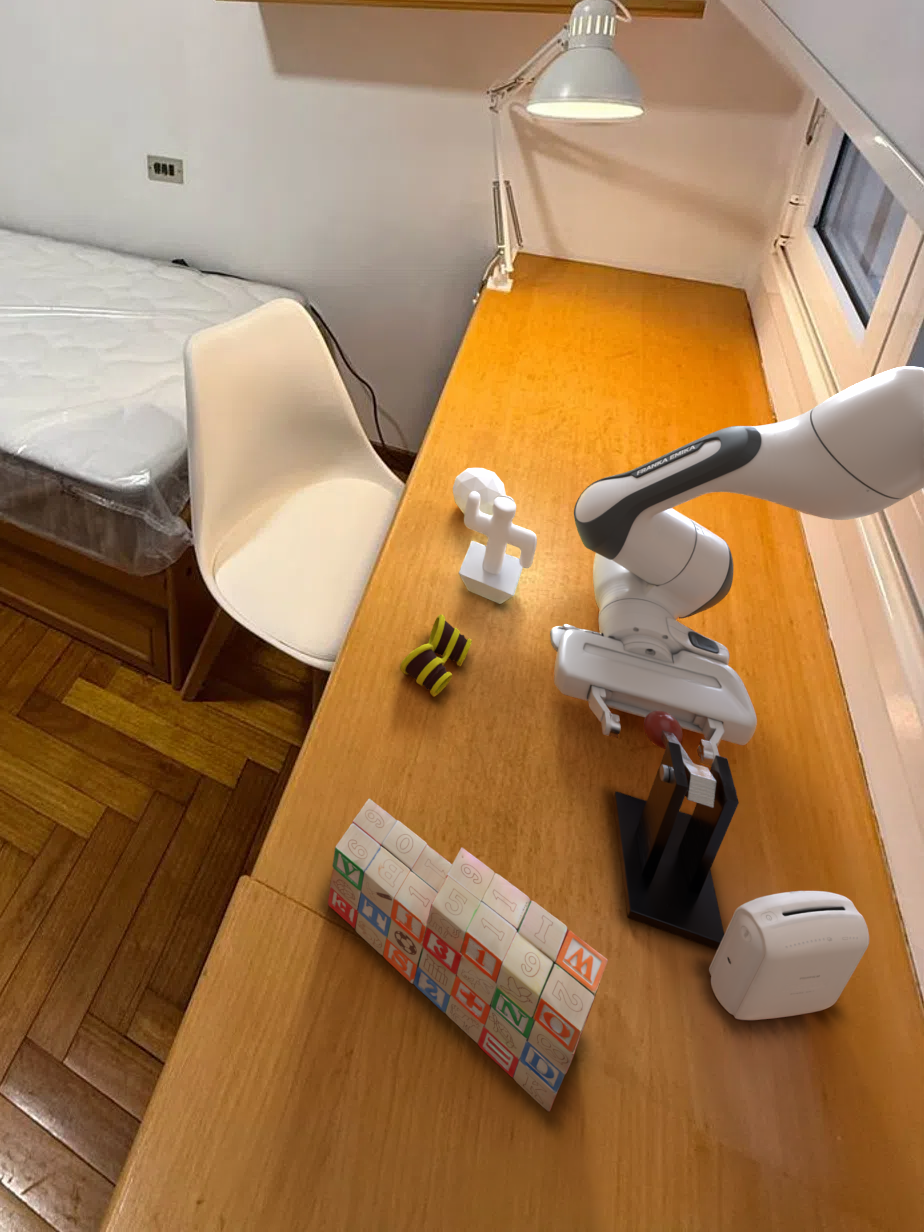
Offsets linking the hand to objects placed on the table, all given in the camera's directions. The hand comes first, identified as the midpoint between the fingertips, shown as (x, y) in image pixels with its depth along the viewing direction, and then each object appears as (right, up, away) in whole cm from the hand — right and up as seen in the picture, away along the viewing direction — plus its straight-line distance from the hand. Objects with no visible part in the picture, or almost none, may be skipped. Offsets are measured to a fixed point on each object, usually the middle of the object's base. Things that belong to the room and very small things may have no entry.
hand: (660, 747), depth 90 cm
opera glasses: (-20, +1, +14) cm, 24 cm away
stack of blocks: (-28, -11, -15) cm, 34 cm away
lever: (-2, +1, -6) cm, 6 cm away
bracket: (-3, -8, -7) cm, 11 cm away
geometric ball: (-5, +12, +40) cm, 42 cm away
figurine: (-9, +6, +26) cm, 28 cm away
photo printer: (0, -12, -16) cm, 20 cm away
